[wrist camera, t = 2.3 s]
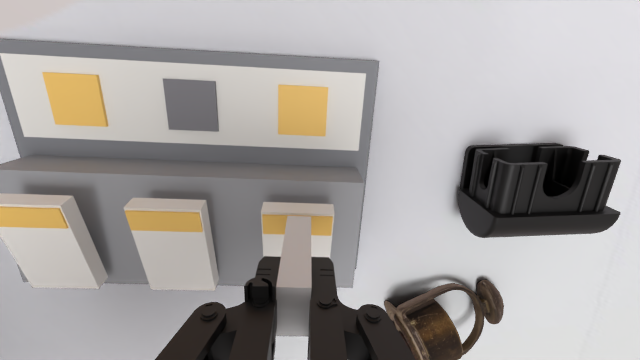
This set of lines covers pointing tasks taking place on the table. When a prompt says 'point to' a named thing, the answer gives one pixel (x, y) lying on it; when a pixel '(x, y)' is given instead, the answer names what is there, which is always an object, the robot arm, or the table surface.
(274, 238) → the rocker
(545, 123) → the table surface
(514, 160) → the end cap
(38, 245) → the rocker
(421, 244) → the table surface
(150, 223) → the rocker middle
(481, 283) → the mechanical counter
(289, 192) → the switch unit
